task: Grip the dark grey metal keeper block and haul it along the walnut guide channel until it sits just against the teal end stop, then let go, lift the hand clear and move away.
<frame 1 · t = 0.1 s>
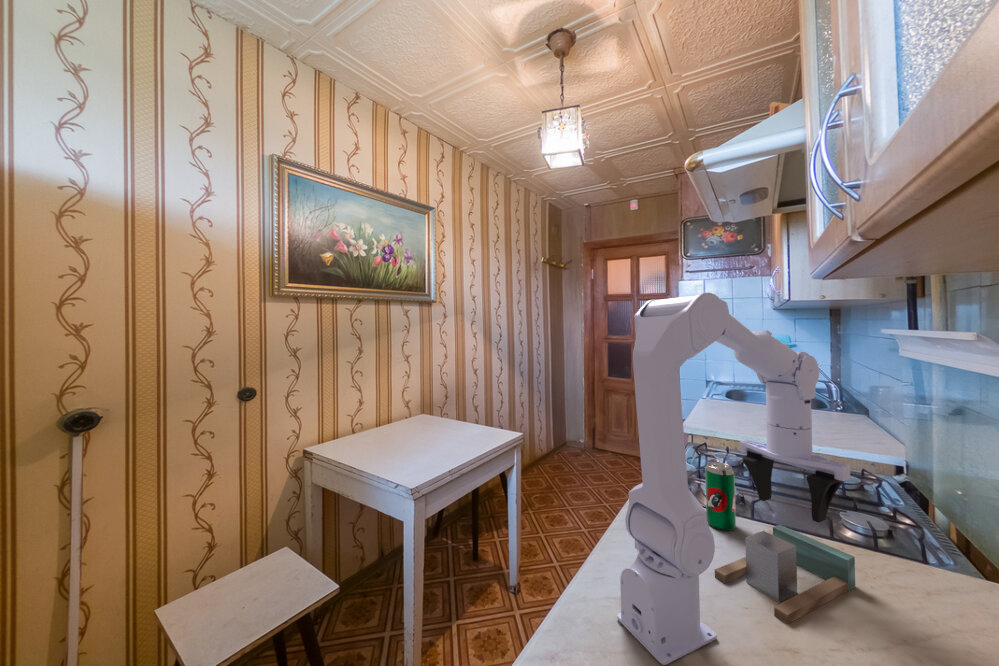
hand: (790, 509, 58), 10 cm above the countertop, tool pointing down, fingers open, 7 cm apart
guide channel: (779, 583, 55), on the countertop
keeper block: (771, 587, 54), resting in guide channel
soda can: (720, 526, 72), on the countertop
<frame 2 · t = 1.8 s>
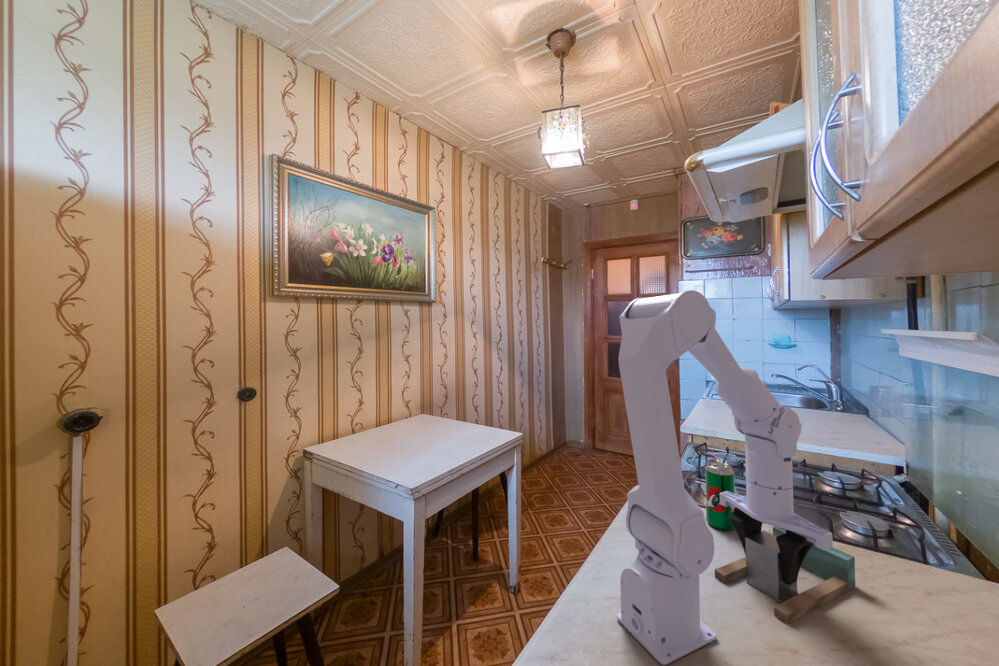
hand: (771, 571, 54), 2 cm above the countertop, tool pointing down, fingers closed on keeper block, 4 cm apart
keeper block: (771, 587, 54), resting in guide channel, touching gripper
everything else where it was.
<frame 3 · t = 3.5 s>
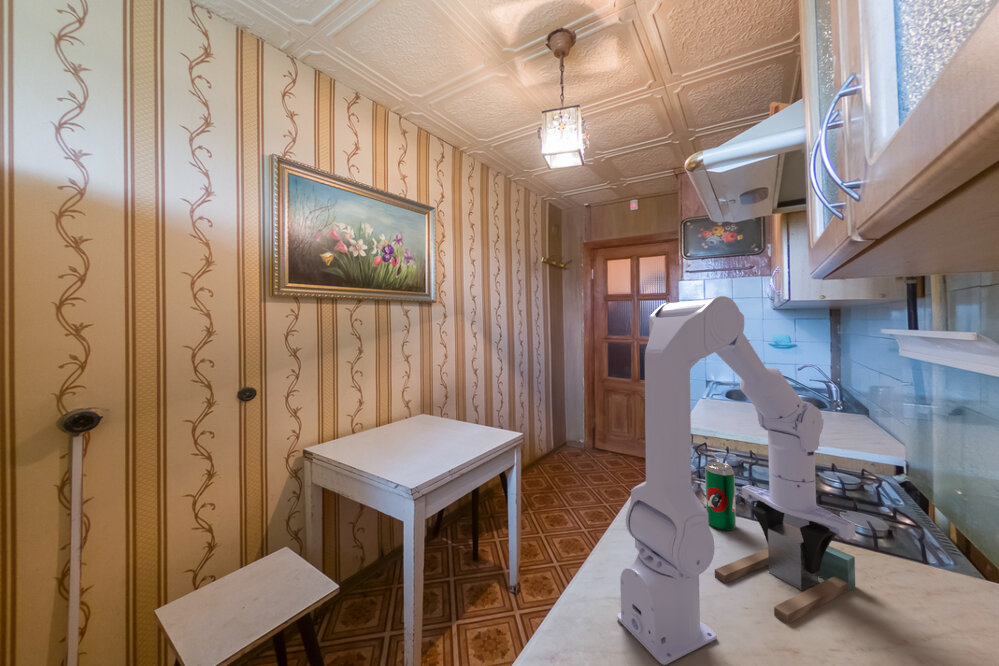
hand: (793, 561, 56), 2 cm above the countertop, tool pointing down, fingers closed on keeper block, 4 cm apart
keeper block: (793, 576, 56), resting in guide channel, touching gripper
everything else where it was.
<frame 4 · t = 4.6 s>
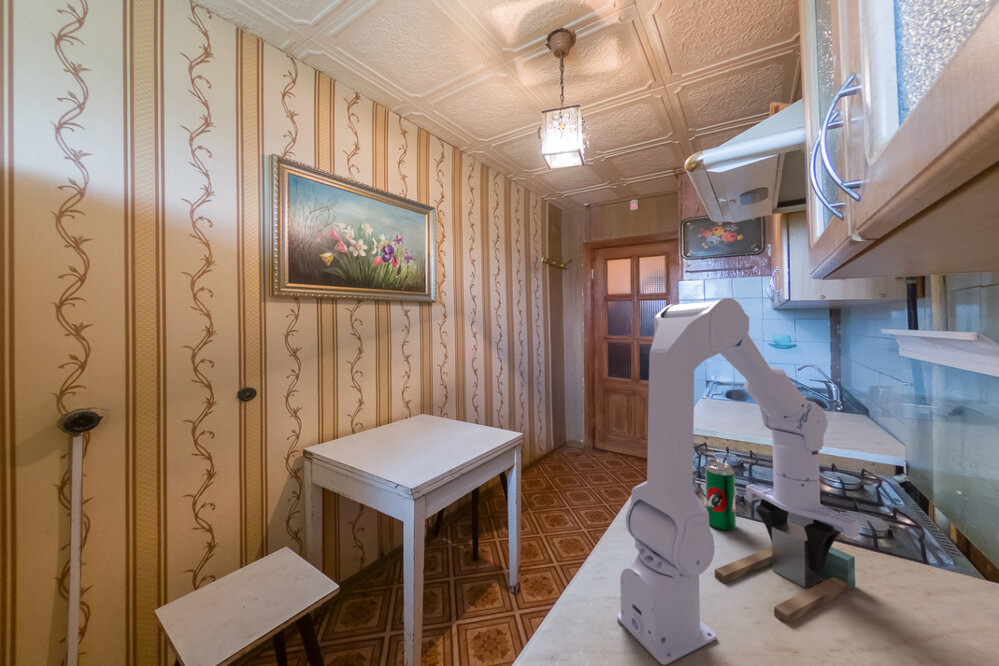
hand: (797, 559, 57), 2 cm above the countertop, tool pointing down, fingers closed on keeper block, 4 cm apart
keeper block: (796, 575, 57), resting in guide channel, touching gripper
everything else where it was.
when the fingers open (2 cm above the countertop, at t = 5.2 s): keeper block stays where it is, resting in guide channel.
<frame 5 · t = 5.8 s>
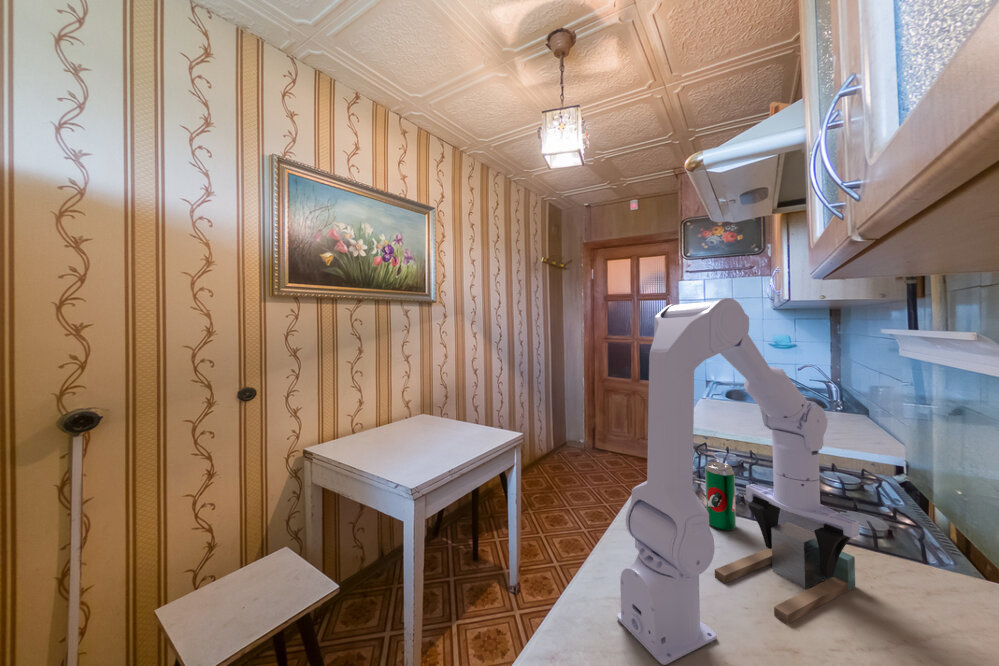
hand: (797, 559, 57), 2 cm above the countertop, tool pointing down, fingers open, 7 cm apart
keeper block: (796, 575, 57), resting in guide channel
everything else where it was.
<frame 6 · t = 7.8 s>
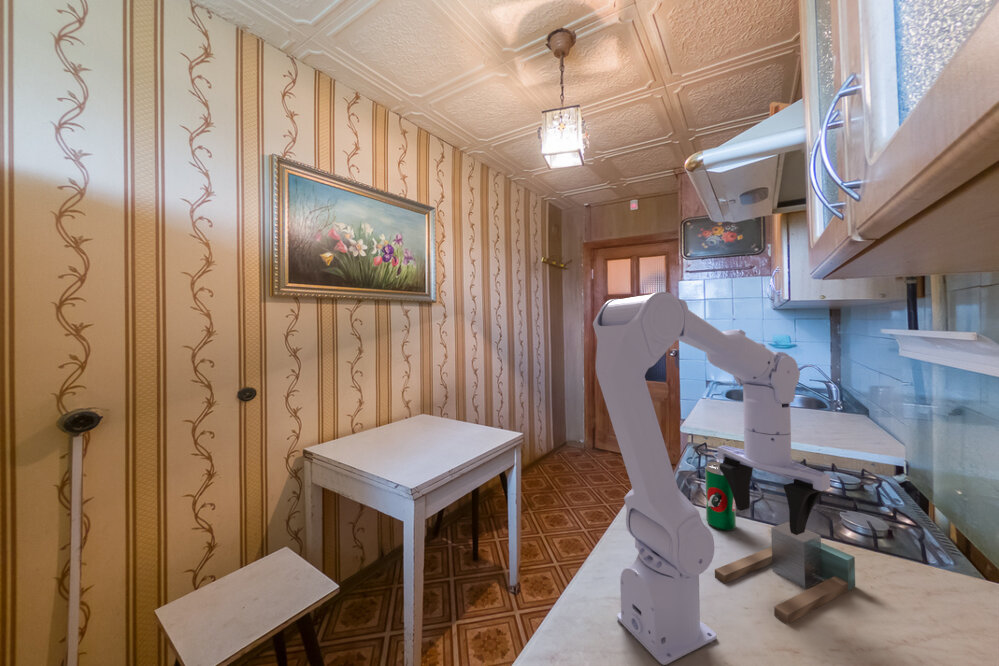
hand: (768, 519, 54), 10 cm above the countertop, tool pointing down, fingers open, 7 cm apart
nothing on the countertop moved.
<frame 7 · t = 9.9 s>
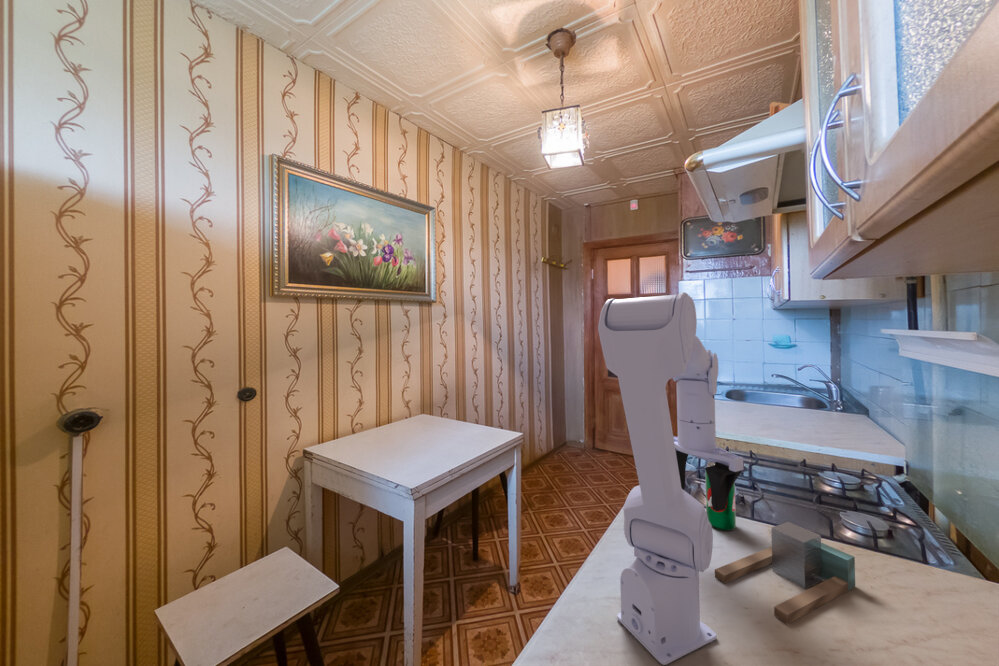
hand: (697, 499, 61), 10 cm above the countertop, tool pointing down, fingers open, 7 cm apart
nothing on the countertop moved.
at the end: keeper block 0.5 cm from the target spot, resting in guide channel; keeper block tilted 0°; the gripper is holding nothing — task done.
